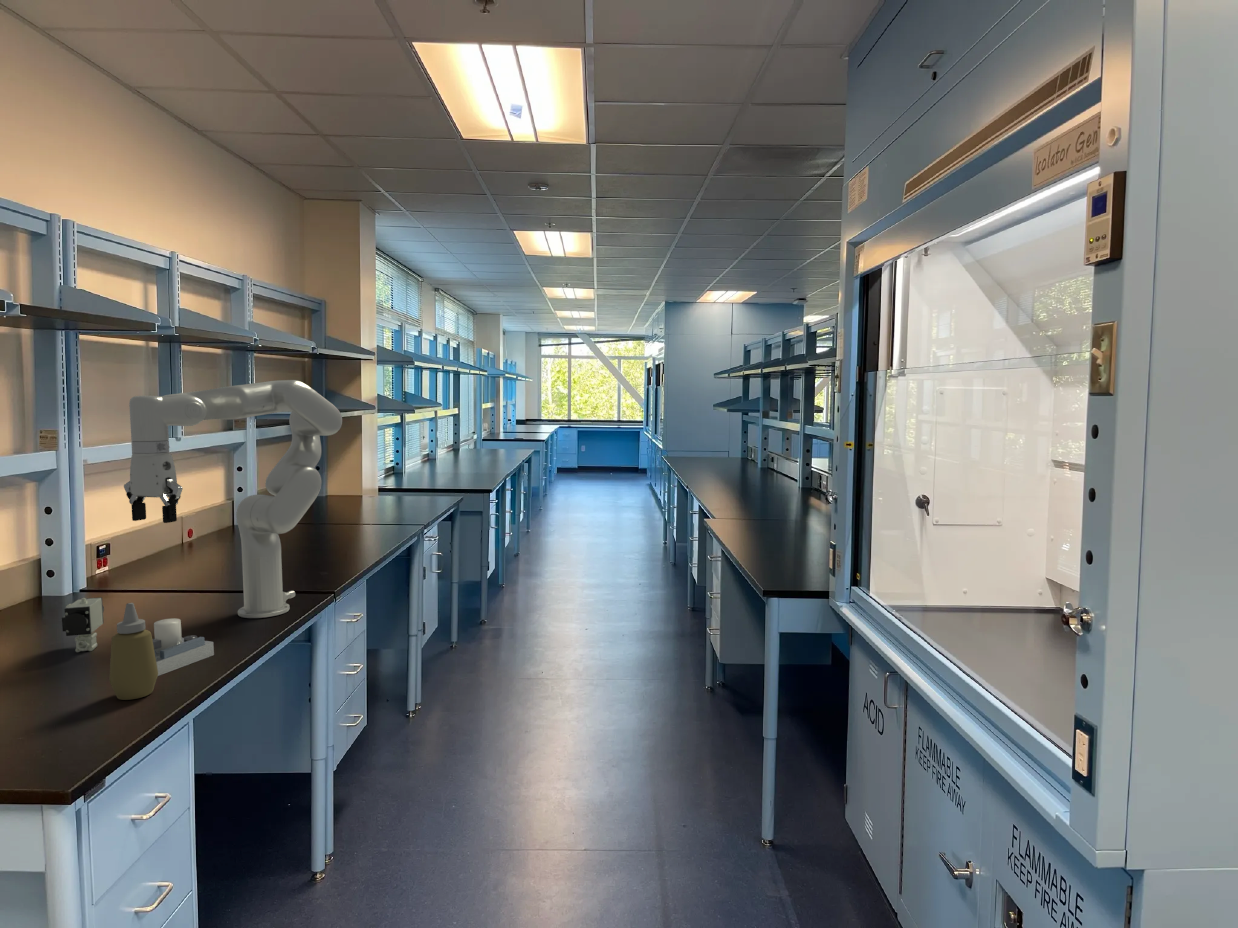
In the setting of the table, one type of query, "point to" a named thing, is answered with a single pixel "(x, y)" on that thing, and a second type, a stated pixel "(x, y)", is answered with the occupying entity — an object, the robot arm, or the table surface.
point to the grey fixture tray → (183, 654)
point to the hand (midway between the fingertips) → (154, 521)
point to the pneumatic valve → (83, 622)
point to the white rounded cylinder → (167, 634)
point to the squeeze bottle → (132, 658)
